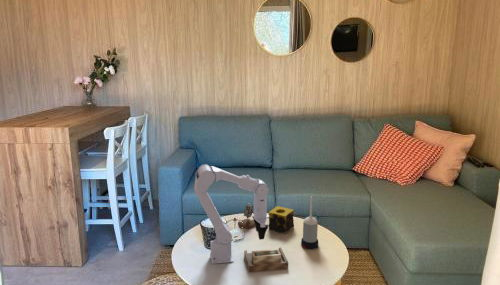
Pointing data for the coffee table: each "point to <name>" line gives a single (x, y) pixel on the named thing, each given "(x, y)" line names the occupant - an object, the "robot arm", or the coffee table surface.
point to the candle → (281, 219)
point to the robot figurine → (247, 222)
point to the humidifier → (310, 231)
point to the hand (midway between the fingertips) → (260, 235)
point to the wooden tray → (265, 266)
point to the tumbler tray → (266, 256)
